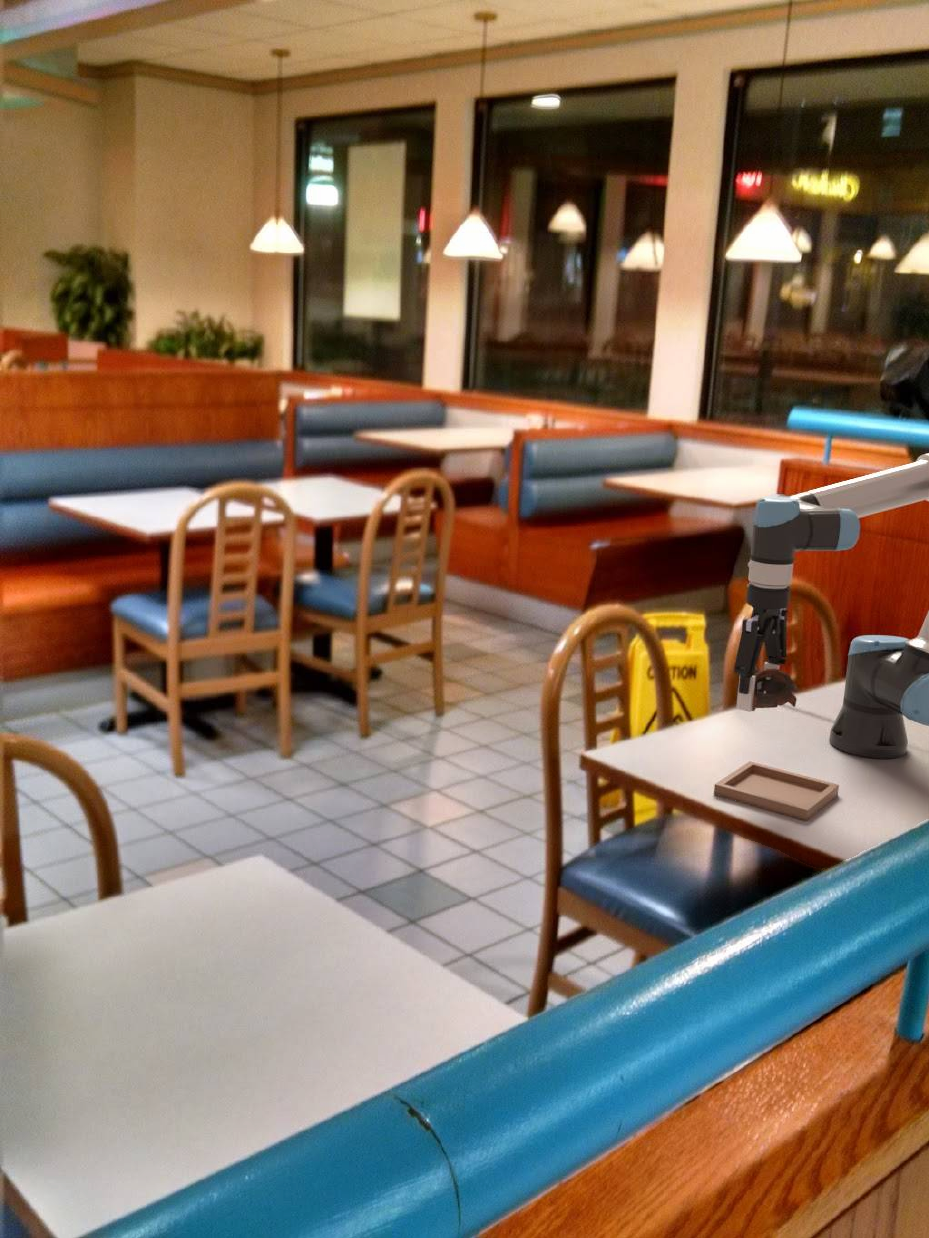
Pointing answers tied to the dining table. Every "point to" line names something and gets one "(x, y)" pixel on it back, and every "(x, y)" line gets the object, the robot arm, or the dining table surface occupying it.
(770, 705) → the pottery mug
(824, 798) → the serving tray
